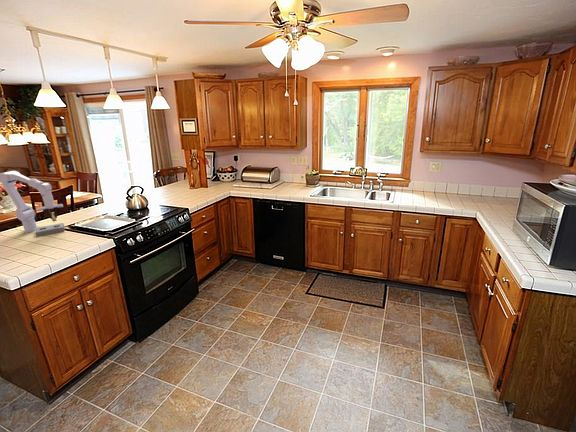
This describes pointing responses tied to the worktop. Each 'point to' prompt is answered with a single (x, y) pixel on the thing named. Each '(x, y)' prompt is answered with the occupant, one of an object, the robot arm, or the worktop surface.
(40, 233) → the bore block
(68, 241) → the worktop surface
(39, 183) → the robot arm
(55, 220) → the brass pin
